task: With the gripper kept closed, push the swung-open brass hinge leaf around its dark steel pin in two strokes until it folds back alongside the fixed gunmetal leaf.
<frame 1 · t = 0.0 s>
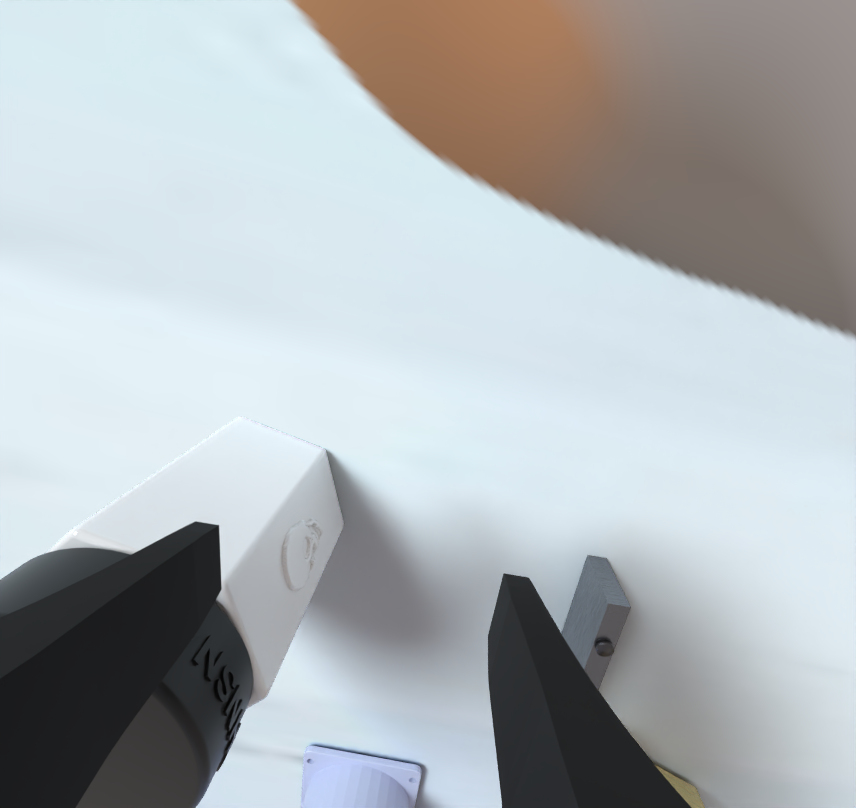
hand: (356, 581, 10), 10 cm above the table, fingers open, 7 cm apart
jar: (267, 491, 22), on the table
hinge base: (570, 700, 25), on the table
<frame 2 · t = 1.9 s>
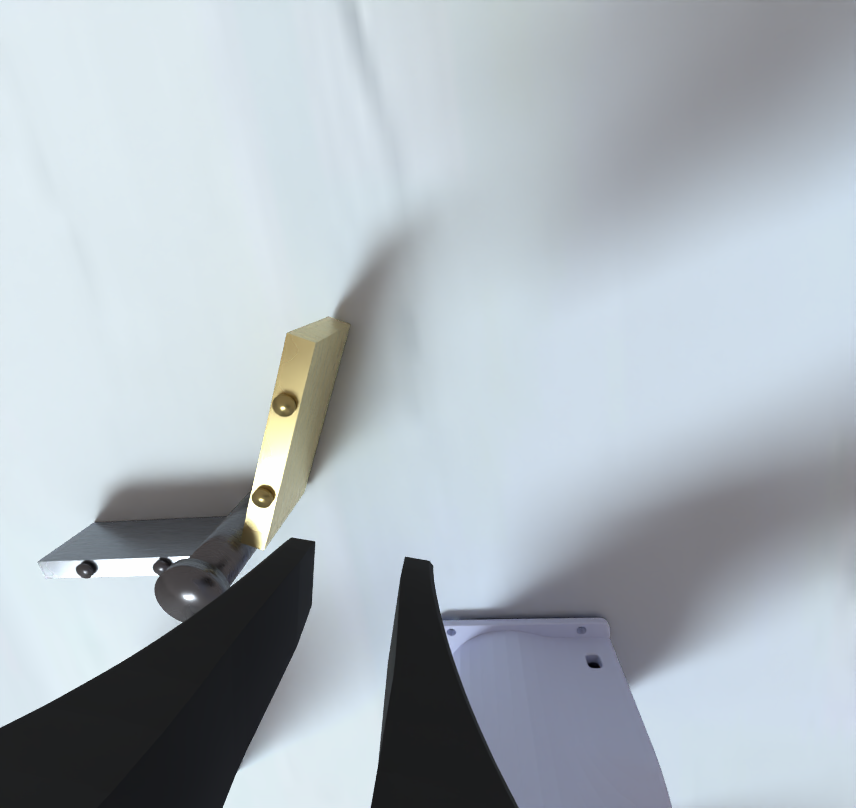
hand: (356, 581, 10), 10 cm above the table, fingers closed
brass leaf: (296, 430, 17), point 3 cm above the table, hinge at 115.0°
hinge base: (267, 501, 21), on the table
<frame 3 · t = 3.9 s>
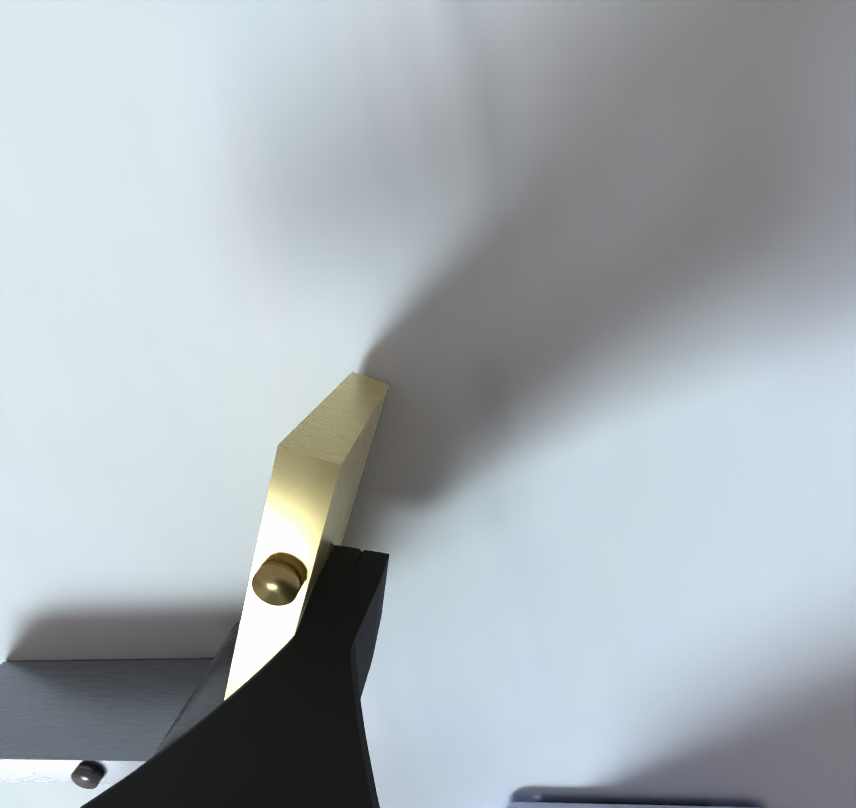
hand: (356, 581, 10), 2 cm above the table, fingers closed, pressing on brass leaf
brass leaf: (302, 576, 10), point 3 cm above the table, hinge at 114.0°, touching gripper
hinge base: (259, 640, 14), on the table
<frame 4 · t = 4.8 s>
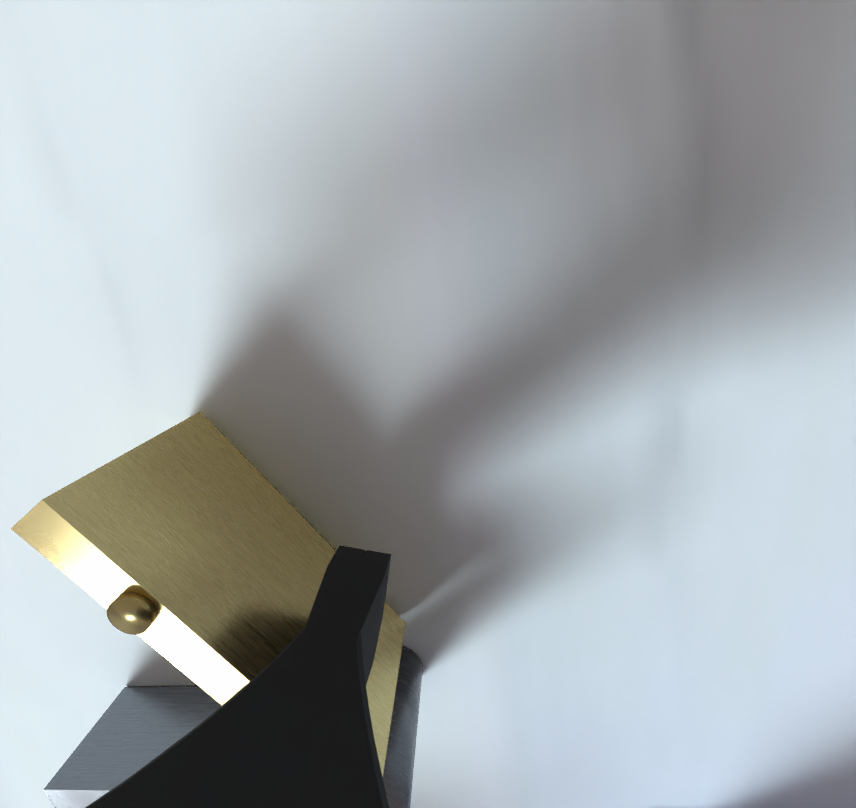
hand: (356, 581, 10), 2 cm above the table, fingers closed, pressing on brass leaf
brass leaf: (263, 592, 10), point 3 cm above the table, hinge at 58.2°, touching gripper
hinge base: (393, 666, 14), on the table
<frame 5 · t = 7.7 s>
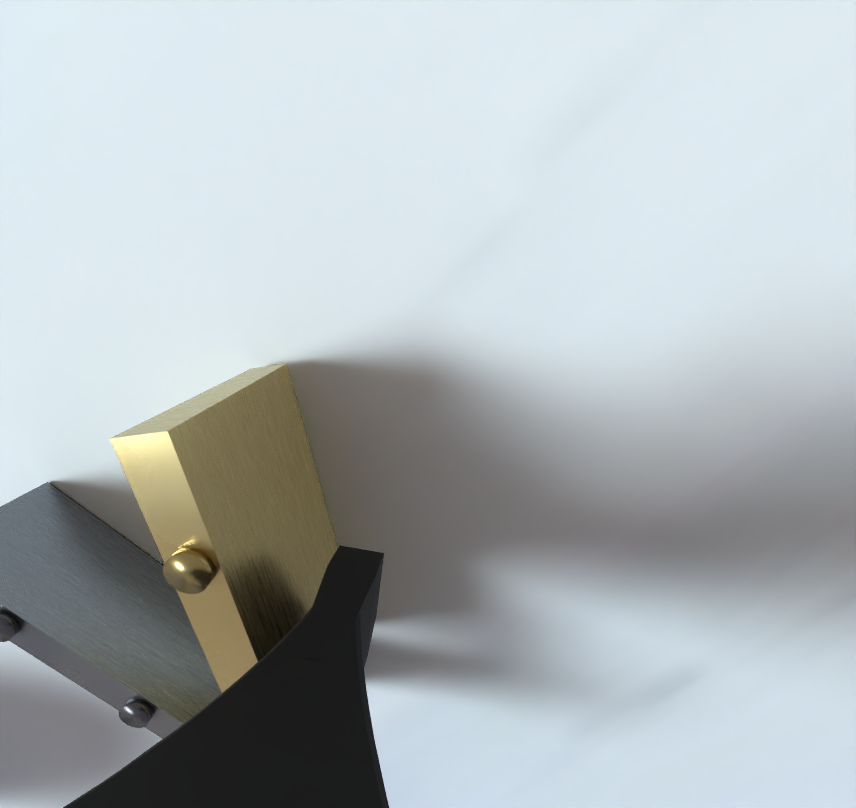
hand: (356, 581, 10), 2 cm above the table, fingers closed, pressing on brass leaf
brass leaf: (277, 572, 10), point 3 cm above the table, hinge at 37.0°, touching gripper
hinge base: (322, 660, 14), on the table
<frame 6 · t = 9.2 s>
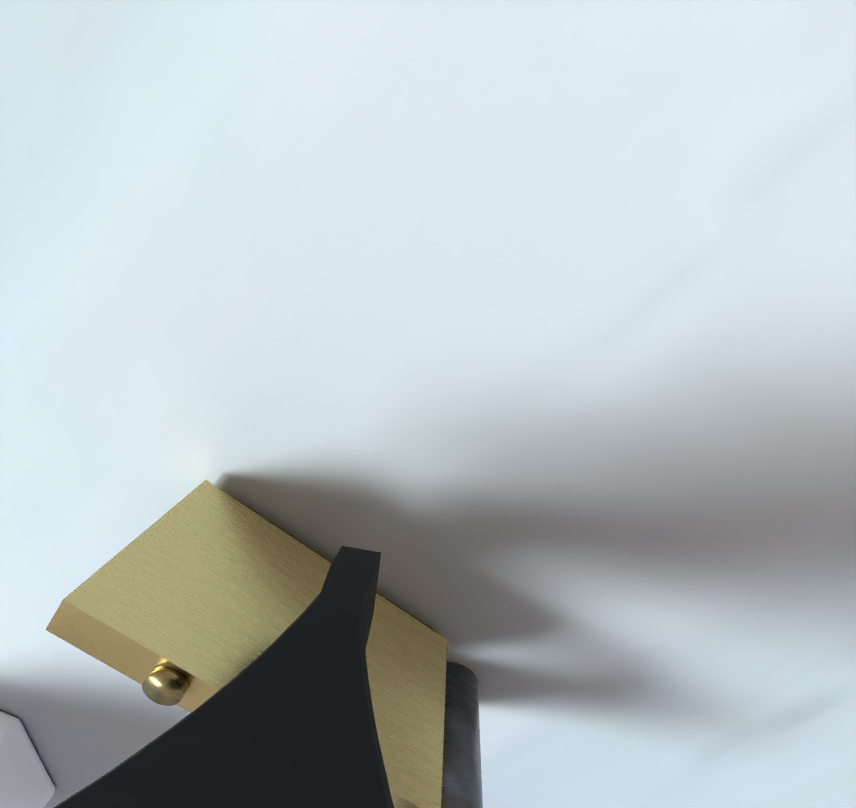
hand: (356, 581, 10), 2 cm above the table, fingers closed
brass leaf: (294, 639, 10), point 3 cm above the table, hinge at -6.1°, touching gripper
hinge base: (448, 684, 14), on the table
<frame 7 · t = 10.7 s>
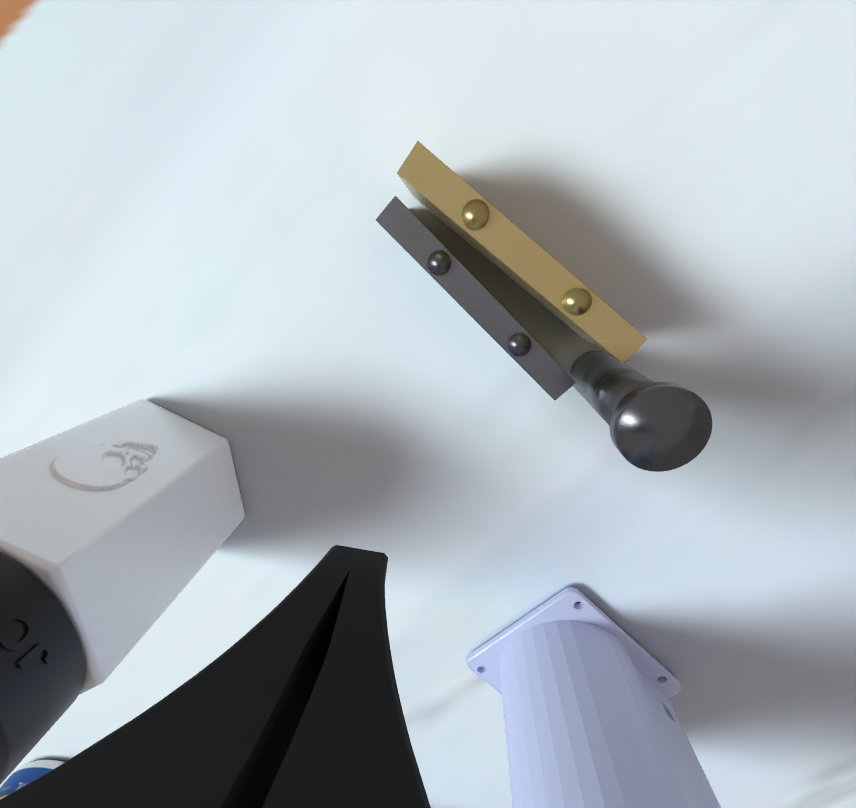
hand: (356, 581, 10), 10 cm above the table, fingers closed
beverage bottle: (71, 787, 32), on the table
brass leaf: (517, 260, 14), point 3 cm above the table, hinge at -6.2°
jar: (171, 476, 22), on the table
hinge base: (593, 373, 18), on the table
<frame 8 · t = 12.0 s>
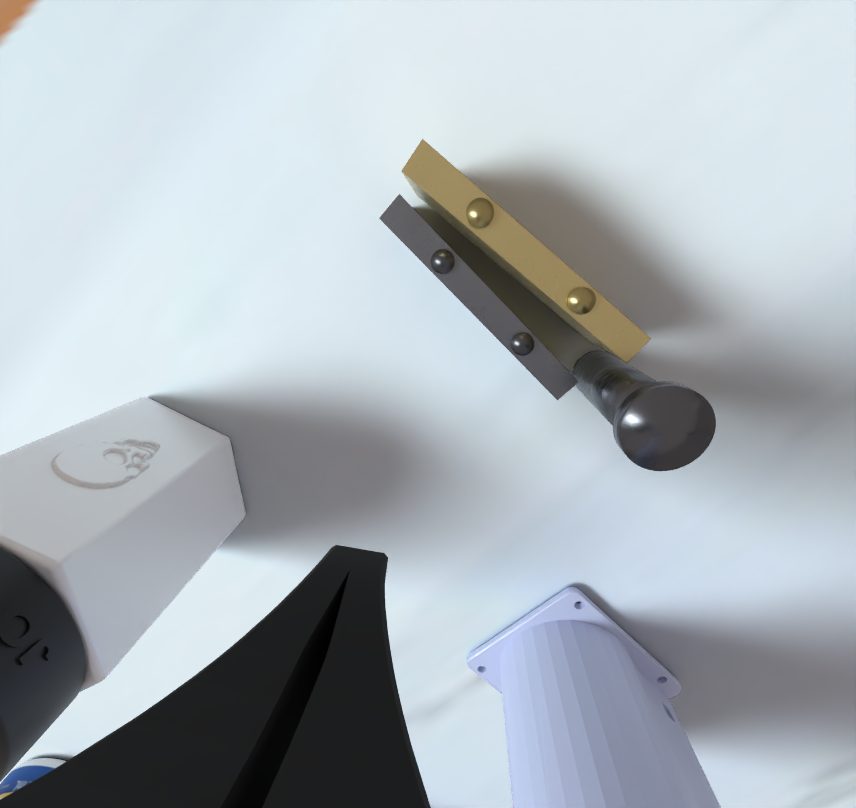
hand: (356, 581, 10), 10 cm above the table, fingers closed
beverage bottle: (69, 785, 32), on the table
brass leaf: (521, 259, 14), point 3 cm above the table, hinge at -6.2°
jar: (172, 474, 22), on the table
hinge base: (595, 373, 18), on the table
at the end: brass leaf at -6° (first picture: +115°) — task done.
